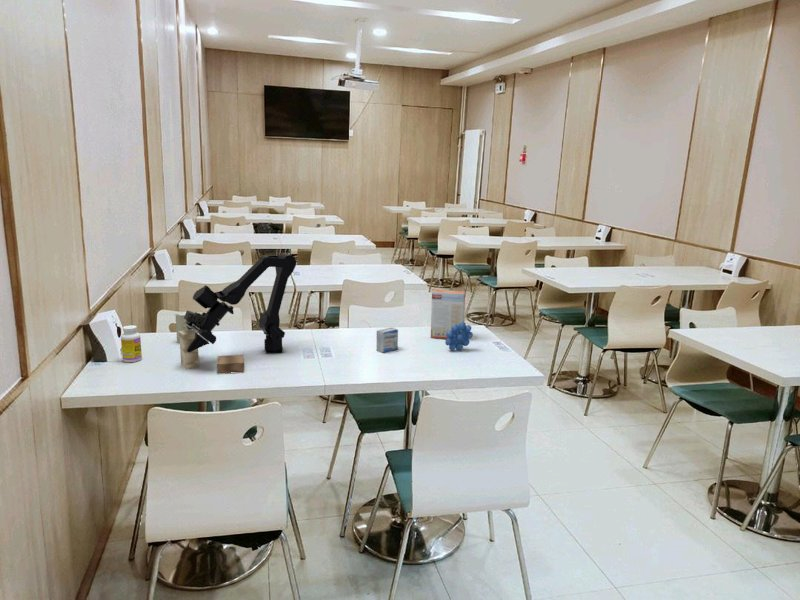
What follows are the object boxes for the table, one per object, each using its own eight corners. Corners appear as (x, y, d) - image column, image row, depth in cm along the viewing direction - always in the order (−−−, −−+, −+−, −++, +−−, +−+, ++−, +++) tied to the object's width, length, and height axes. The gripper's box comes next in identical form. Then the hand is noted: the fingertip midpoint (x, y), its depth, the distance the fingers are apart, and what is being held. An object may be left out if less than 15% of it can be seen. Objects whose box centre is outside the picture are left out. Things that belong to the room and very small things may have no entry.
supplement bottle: (136, 363, 217) (133, 329, 214) (119, 362, 217) (116, 329, 214) (145, 357, 223) (142, 324, 220) (128, 356, 224) (125, 324, 221)
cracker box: (463, 337, 259) (466, 291, 254) (462, 341, 253) (464, 293, 249) (432, 334, 262) (434, 288, 257) (430, 338, 256) (431, 291, 252)
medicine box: (383, 353, 235) (383, 332, 233) (376, 350, 238) (376, 330, 236) (397, 349, 240) (398, 329, 238) (390, 346, 243) (391, 326, 241)
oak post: (194, 362, 219) (192, 329, 216) (199, 366, 215) (197, 332, 212) (181, 365, 216) (179, 331, 213) (185, 369, 212) (182, 334, 209)
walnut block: (244, 364, 219) (243, 354, 218) (243, 373, 211) (243, 362, 210) (218, 366, 217) (218, 355, 216) (217, 374, 209) (217, 364, 208)
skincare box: (182, 344, 240) (180, 315, 237) (176, 342, 242) (174, 313, 239) (196, 341, 244) (194, 312, 242) (190, 339, 247) (188, 311, 244)
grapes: (468, 346, 246) (469, 319, 243) (473, 351, 240) (475, 323, 237) (441, 347, 243) (443, 320, 241) (446, 353, 237) (448, 324, 234)
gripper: (189, 297, 220) (161, 330, 216) (205, 308, 205) (175, 343, 201) (211, 315, 226) (184, 347, 223) (228, 326, 212) (199, 361, 208)
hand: (185, 349), depth 213 cm, fingers open, 6 cm apart
